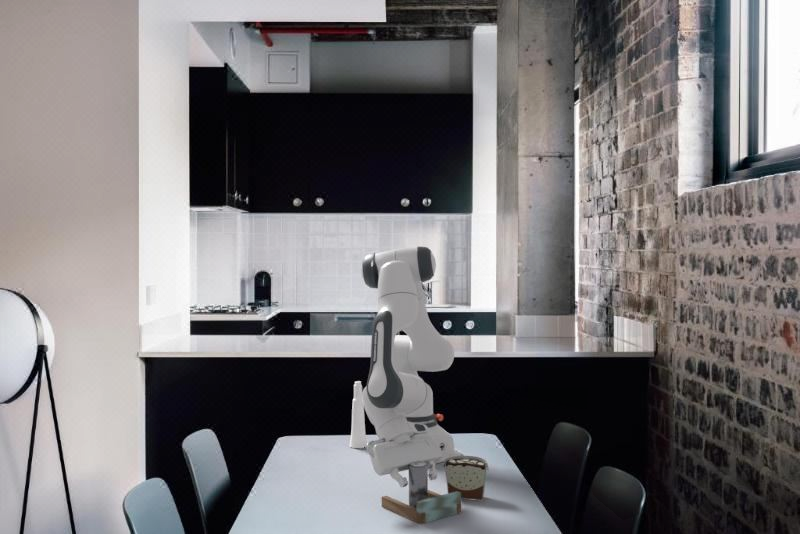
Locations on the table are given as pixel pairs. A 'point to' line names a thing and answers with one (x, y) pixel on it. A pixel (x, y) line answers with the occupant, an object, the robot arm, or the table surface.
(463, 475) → the food container
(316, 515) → the table surface
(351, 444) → the cosmetic bottle
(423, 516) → the keeper cradle
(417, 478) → the drinking glass
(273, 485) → the table surface
